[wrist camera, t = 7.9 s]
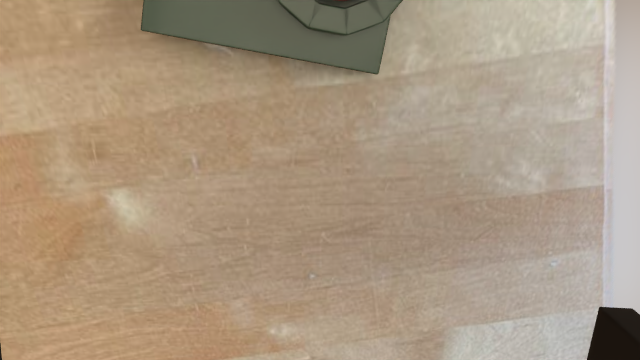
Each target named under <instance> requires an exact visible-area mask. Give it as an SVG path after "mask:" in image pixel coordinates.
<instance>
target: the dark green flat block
mask: <svg viewBox="0 0 640 360" xmlns="http://www.w3.org/2000/svg"><path fill="white" fill-rule="evenodd" d="M402 1H403V0H346V1H336V0H144V2H143V13H142V23H141V30H142V31H147V32H152V33H157V34H163V35H168V36H174V37H179V38H184V39H190V40H195V41H200V42H206V43H211V44H217V45H222V46H227V47H233V48H238V49H244V50H249V51H254V52H260V53H265V54H270V55H276V56H281V57H287V58H292V59H297V60H303V61H308V62H314V63H319V64H324V65H330V66H335V67H340V68H346V69H351V70H357V71H362V72H367V73H373V74H378V73H379V69H380V64H381V59H382V54H383V49H384V45H385V40H386V35H387V30H388V25H389V20H390V16H391V14H392V13H393V11H394V10H395V9H396V8H397V7H398V5H399V4H400V3H401V2H402Z"/></svg>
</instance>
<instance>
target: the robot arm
mask: <svg viewBox="0 0 640 360" xmlns="http://www.w3.org/2000/svg"><path fill="white" fill-rule="evenodd" d="M0 360H2V356H1V345H0ZM587 360H640V315H639V314H638V313H637V312H636V311H635V310H633V309H629V308H628V309H627V308H610V307H599V310H598V315H597V319H596V323H595V327H594V332H593V336H592V340H591V344H590V349H589V353H588V357H587Z"/></svg>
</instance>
